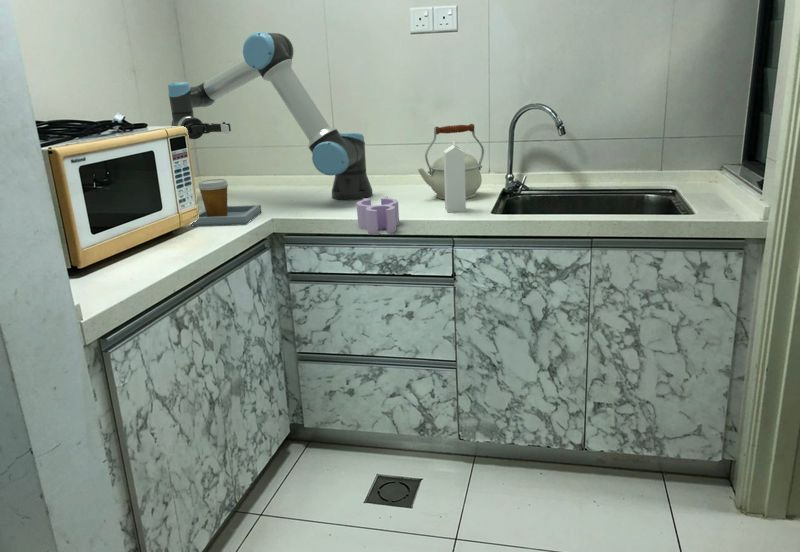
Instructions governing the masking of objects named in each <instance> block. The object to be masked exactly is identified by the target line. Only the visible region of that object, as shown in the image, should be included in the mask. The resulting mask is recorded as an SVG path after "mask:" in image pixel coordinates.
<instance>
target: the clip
mask: <svg viewBox="0 0 800 552" xmlns="http://www.w3.org/2000/svg"><path fill="white" fill-rule="evenodd" d="M399 210H400V209H399V200H398V199H396V198H393V197H392V198H391V197H389V196H383V197H380V204H378V205H377V204H376V205H373V204H372V201H371V199H370V198H368V197H366V198H361V200H359V201H357V202H356V214H357V226H358V227H359V228H361V229H365V230H367V231H366V232H367V233H368V234H369V235H370V234H371V235H379V230H380V229H386V233H387V234H392V233H395V232H396V231H397V226H399V224H400V215H399V214H400V211H399Z"/></svg>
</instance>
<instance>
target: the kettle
mask: <svg viewBox="0 0 800 552" xmlns="http://www.w3.org/2000/svg"><path fill="white" fill-rule="evenodd" d="M464 132H470V133H472V137H473V139H474V140H475V141H476V142H477V144H479V146H480V148H481V155H480V158H479V162H478V160H477V159H476V158H475V157H474V156H473V155H471V154H468V153H465V195H466V200H468V199H472V198H474V197H476V195H477V194H476V193H477V191H478V190H479V189H480V188H481V185H482V174H481V169H482V168H483V165H481V164H482V162H483V159H484V157H485V156H484V155H485V149H484V148H485V147H484V145H483V144H482V143H481V141H480V140H479V139H478V137H476V134H475V133H476V132H475V124H474V123H469V124H456V125H446V126H441V127H439V126H434V127H433V133H434V134H433V136H434V137H433V140H432V141H431V142H430V144H429V146H428V147H427V149H426V150H425V152H424V153H425V154H424V158H425V162H426V165H427V167H428V169H429V170H428V171H427V172H426V170H425V169H424V168H422V167H421V168H418V169H417V171H418V172H419V175H420V176H421V178H422V179H423V181H424V182H425V183H426V185H428V186H429V187H431V189H432V191H433V192H434V193H435V195H436V196H435V197H436V198H437V199H440V200H444V201H445V183H444V154H441V155H440V156H438V157H436V158H435V160H434V161H433V162H432V165H430V163H429V160H428V154H429V151H430V149H431V148H432V146H433V145H434V143H435V142H436V140H437V135H440V134H454V133H464ZM455 147H457V148H459V149H461V148H460V147H458V146H457V145H455Z"/></svg>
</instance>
